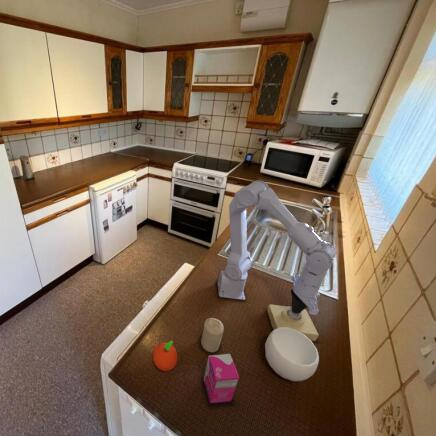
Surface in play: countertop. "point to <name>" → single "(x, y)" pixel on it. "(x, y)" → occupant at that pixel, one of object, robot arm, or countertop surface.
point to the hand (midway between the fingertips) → (295, 311)
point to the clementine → (165, 356)
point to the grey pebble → (294, 314)
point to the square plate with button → (291, 321)
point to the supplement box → (220, 378)
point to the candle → (212, 334)
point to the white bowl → (291, 354)
